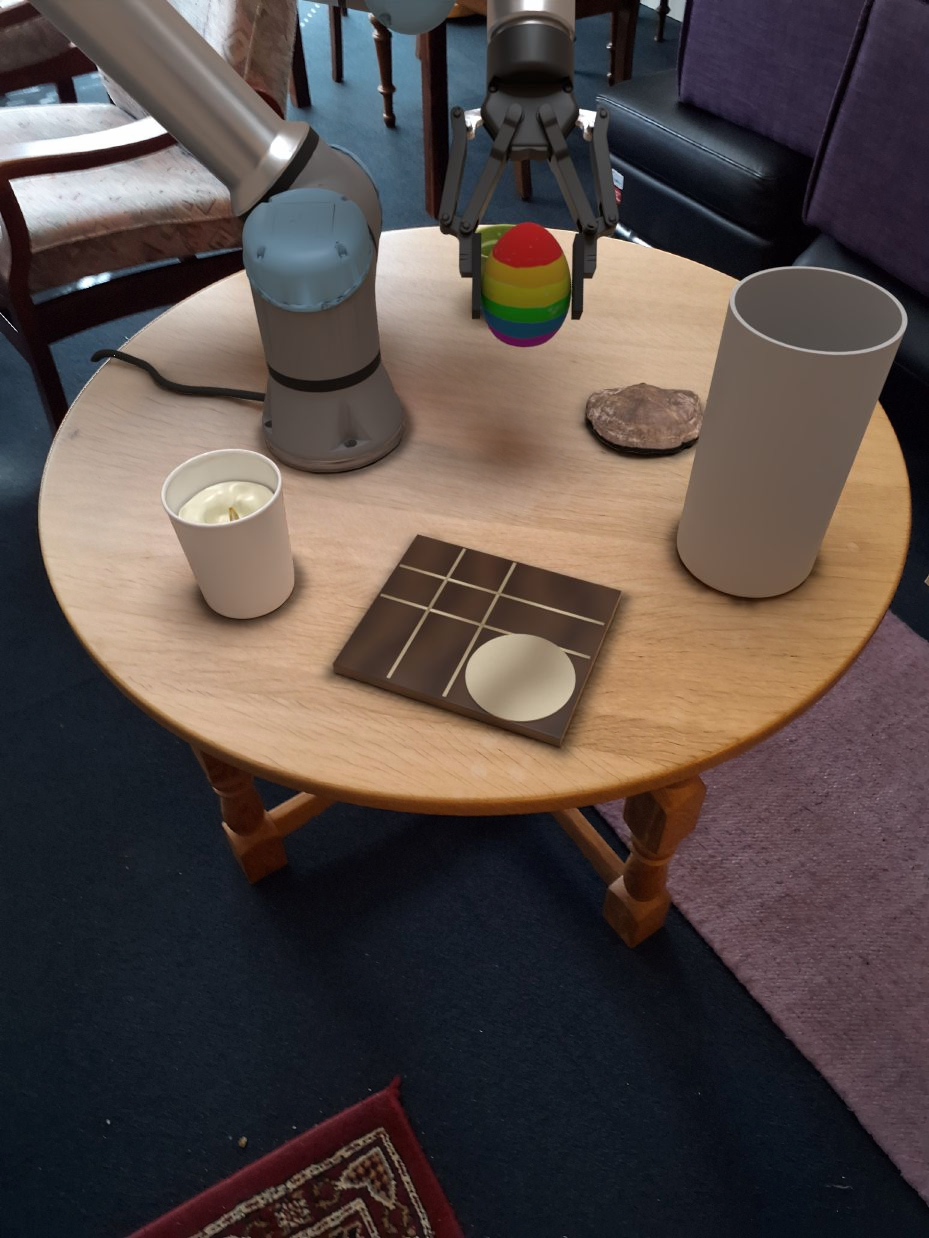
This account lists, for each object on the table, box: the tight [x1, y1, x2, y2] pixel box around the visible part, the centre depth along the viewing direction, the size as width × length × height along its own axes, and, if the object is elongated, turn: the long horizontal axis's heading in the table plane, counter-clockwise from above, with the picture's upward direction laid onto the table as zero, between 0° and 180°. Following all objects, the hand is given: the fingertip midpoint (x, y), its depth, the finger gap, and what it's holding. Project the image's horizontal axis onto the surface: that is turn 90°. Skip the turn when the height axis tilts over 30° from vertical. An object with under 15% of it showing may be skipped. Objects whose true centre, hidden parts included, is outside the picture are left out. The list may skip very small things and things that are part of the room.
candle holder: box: [160, 448, 296, 620], centre depth 78 cm, size 10×10×12 cm
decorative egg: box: [481, 222, 572, 348], centre depth 79 cm, size 8×8×10 cm
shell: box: [585, 382, 704, 455], centre depth 96 cm, size 12×13×4 cm
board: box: [332, 534, 622, 748], centre depth 77 cm, size 20×17×1 cm
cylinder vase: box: [676, 265, 908, 599], centre depth 75 cm, size 12×12×25 cm
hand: (526, 315), depth 78 cm, fingers closed on decorative egg, 8 cm apart
